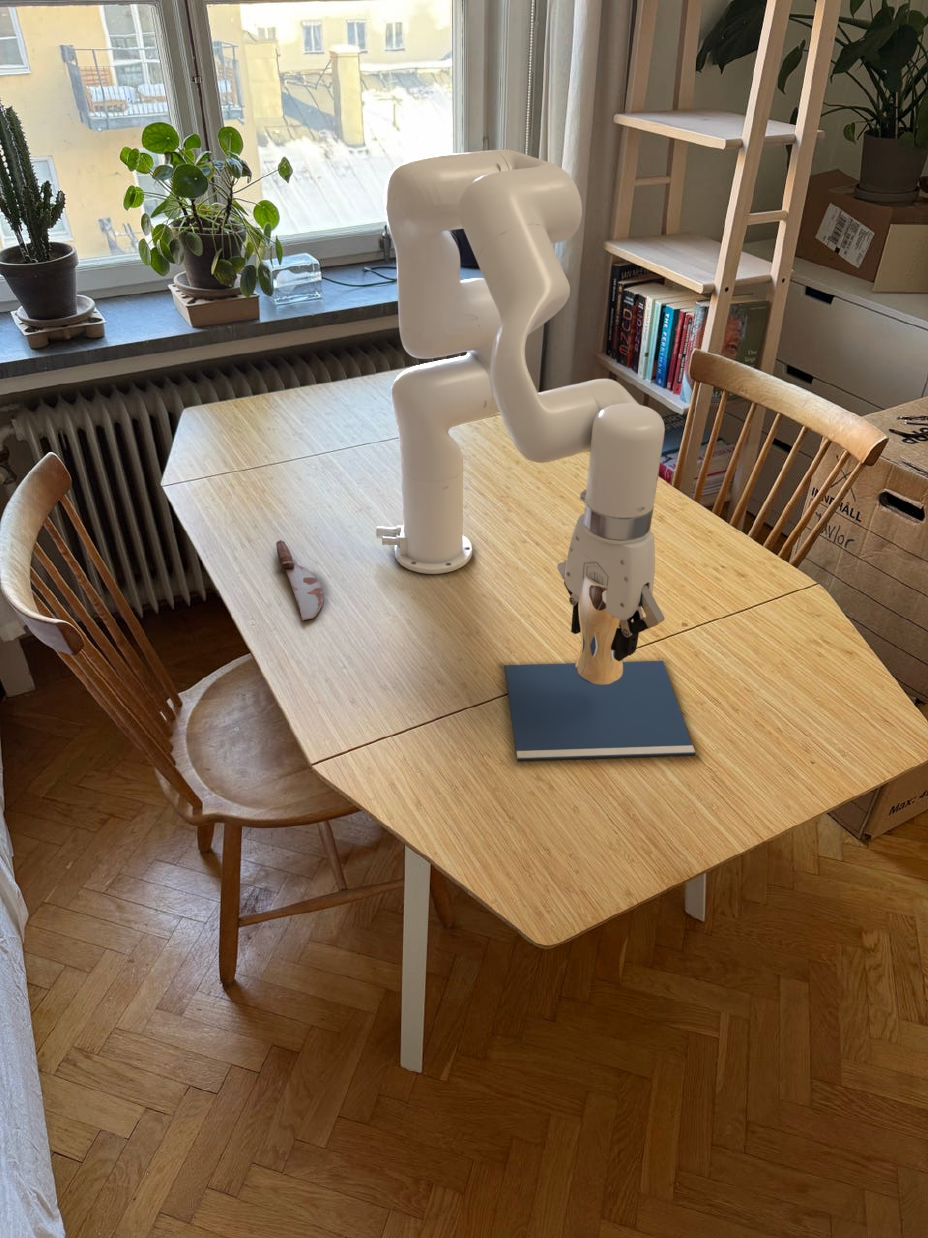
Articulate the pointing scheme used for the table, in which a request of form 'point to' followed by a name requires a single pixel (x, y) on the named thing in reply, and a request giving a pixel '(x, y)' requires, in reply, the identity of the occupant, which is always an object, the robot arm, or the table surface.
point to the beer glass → (597, 637)
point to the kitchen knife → (301, 584)
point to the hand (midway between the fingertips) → (602, 641)
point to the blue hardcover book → (595, 714)
